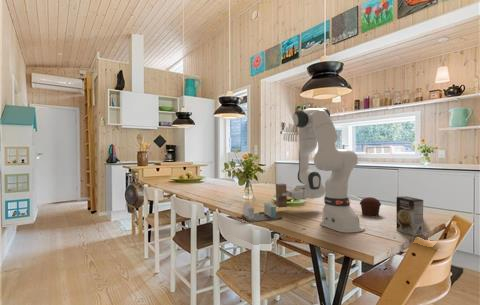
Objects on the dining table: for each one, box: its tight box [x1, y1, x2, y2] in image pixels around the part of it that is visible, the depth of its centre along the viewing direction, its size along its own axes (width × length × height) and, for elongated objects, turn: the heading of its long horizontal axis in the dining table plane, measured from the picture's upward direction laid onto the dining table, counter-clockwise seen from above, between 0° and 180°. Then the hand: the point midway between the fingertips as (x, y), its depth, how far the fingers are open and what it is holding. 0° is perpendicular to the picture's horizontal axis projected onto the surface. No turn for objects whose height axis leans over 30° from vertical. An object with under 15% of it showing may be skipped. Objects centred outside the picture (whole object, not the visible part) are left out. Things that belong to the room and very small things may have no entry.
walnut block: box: [275, 183, 288, 208], centre depth 167 cm, size 5×5×14 cm
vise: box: [241, 203, 283, 223], centre depth 156 cm, size 16×20×7 cm
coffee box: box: [396, 195, 424, 237], centre depth 124 cm, size 9×6×16 cm
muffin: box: [359, 196, 382, 217], centre depth 158 cm, size 12×11×10 cm
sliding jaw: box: [263, 202, 277, 218], centre depth 157 cm, size 12×3×6 cm, turn 14°
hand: (279, 193), depth 167 cm, fingers closed on walnut block, 5 cm apart
